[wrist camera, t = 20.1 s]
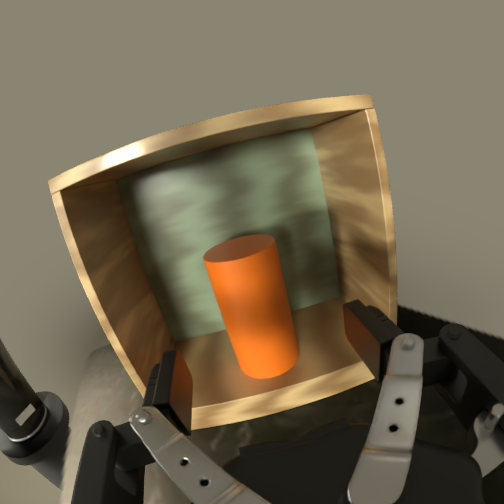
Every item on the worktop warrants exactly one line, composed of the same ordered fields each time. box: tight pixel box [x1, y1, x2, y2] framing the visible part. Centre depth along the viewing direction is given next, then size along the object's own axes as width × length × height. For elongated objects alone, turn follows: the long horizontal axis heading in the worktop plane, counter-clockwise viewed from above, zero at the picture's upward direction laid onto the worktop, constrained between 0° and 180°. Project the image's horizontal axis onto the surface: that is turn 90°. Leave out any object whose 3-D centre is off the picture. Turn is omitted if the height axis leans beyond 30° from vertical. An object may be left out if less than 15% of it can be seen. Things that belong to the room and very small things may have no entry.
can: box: [203, 234, 299, 379], centre depth 23 cm, size 6×6×11 cm
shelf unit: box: [48, 95, 397, 430], centre depth 24 cm, size 22×12×23 cm, turn 98°
